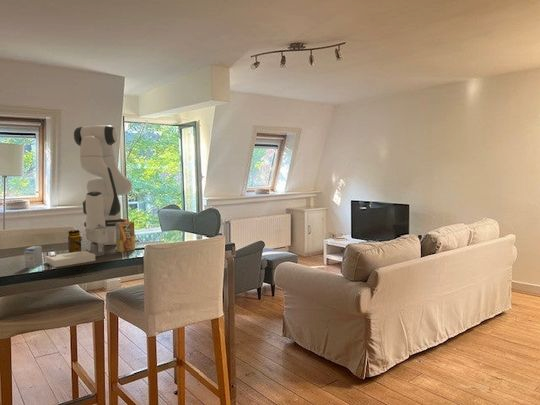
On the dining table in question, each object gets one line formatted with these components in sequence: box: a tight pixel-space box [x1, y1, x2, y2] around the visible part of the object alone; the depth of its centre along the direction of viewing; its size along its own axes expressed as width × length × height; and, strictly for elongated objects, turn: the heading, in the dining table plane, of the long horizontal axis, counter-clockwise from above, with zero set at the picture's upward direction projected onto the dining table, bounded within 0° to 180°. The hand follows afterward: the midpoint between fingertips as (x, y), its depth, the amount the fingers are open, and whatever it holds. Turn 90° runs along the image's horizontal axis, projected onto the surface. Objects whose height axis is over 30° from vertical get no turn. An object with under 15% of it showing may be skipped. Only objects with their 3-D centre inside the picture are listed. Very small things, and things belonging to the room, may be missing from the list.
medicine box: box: [23, 245, 44, 269], centre depth 195 cm, size 8×4×9 cm, turn 5°
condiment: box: [63, 229, 82, 254], centre depth 223 cm, size 7×8×12 cm
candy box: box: [116, 220, 136, 253], centre depth 227 cm, size 9×4×15 cm, turn 142°
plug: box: [89, 243, 105, 257], centre depth 217 cm, size 5×5×6 cm
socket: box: [45, 250, 96, 268], centre depth 203 cm, size 18×14×3 cm
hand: (97, 250), depth 217 cm, fingers closed on plug, 5 cm apart
